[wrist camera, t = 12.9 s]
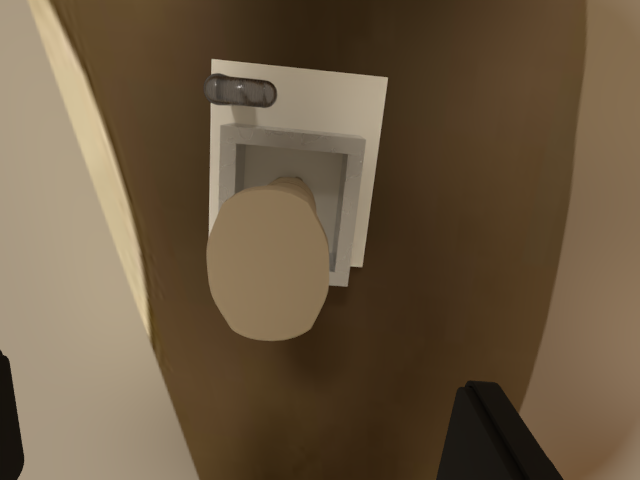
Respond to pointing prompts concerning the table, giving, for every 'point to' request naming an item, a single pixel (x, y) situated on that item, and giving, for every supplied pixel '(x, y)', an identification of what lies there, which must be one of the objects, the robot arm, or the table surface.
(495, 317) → the table surface
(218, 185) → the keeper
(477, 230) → the table surface
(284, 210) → the handle
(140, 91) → the table surface
